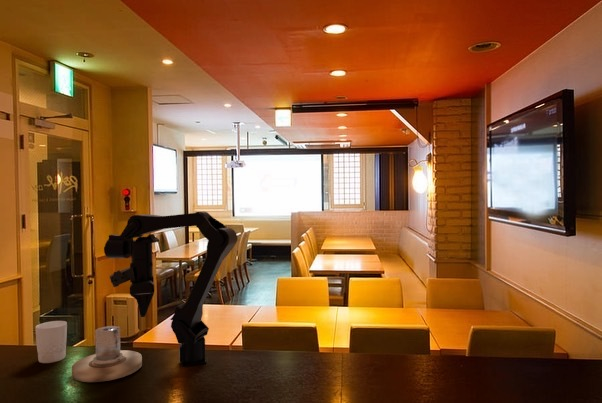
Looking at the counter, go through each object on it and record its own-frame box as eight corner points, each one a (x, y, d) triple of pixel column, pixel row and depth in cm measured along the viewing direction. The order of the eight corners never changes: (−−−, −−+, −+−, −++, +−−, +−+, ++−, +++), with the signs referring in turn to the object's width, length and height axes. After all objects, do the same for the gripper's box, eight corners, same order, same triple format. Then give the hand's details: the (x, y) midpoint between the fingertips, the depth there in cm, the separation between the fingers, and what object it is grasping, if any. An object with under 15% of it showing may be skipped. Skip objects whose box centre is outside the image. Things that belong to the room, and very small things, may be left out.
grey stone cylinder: (123, 354, 120) (123, 324, 120) (122, 363, 113) (121, 331, 113) (95, 358, 118) (94, 326, 118) (91, 367, 111) (91, 334, 111)
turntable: (142, 355, 126) (142, 347, 126) (141, 377, 110) (141, 367, 110) (77, 364, 121) (77, 355, 121) (66, 388, 105) (66, 378, 105)
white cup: (53, 365, 121) (52, 329, 121) (29, 363, 122) (28, 327, 122) (73, 355, 128) (73, 321, 128) (50, 353, 130) (50, 320, 130)
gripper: (113, 256, 130) (114, 308, 130) (108, 264, 113) (109, 324, 113) (152, 254, 134) (153, 304, 134) (153, 261, 117) (155, 320, 117)
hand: (143, 313), depth 124 cm, fingers open, 9 cm apart
